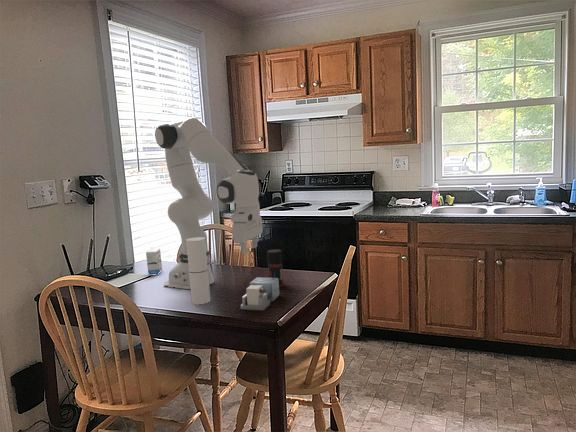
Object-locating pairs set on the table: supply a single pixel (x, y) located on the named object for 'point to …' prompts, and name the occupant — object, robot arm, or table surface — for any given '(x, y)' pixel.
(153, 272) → the ink box
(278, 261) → the deodorant
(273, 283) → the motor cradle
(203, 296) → the cylindrical container
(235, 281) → the table surface
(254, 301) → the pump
